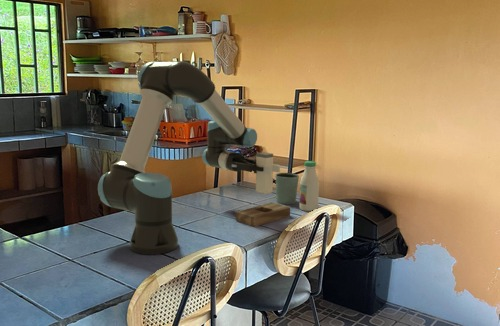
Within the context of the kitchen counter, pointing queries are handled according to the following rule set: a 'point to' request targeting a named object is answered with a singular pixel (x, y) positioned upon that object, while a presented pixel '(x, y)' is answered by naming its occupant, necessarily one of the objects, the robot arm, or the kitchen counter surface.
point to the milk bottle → (309, 188)
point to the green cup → (286, 188)
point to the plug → (262, 179)
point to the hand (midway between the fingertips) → (275, 169)
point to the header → (262, 214)
